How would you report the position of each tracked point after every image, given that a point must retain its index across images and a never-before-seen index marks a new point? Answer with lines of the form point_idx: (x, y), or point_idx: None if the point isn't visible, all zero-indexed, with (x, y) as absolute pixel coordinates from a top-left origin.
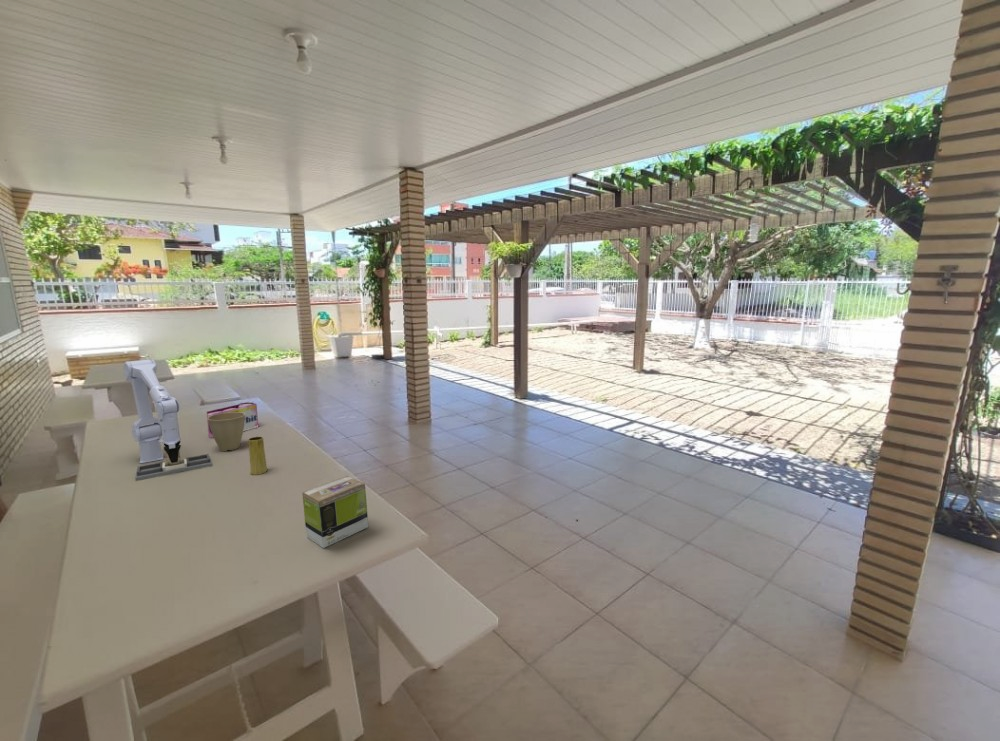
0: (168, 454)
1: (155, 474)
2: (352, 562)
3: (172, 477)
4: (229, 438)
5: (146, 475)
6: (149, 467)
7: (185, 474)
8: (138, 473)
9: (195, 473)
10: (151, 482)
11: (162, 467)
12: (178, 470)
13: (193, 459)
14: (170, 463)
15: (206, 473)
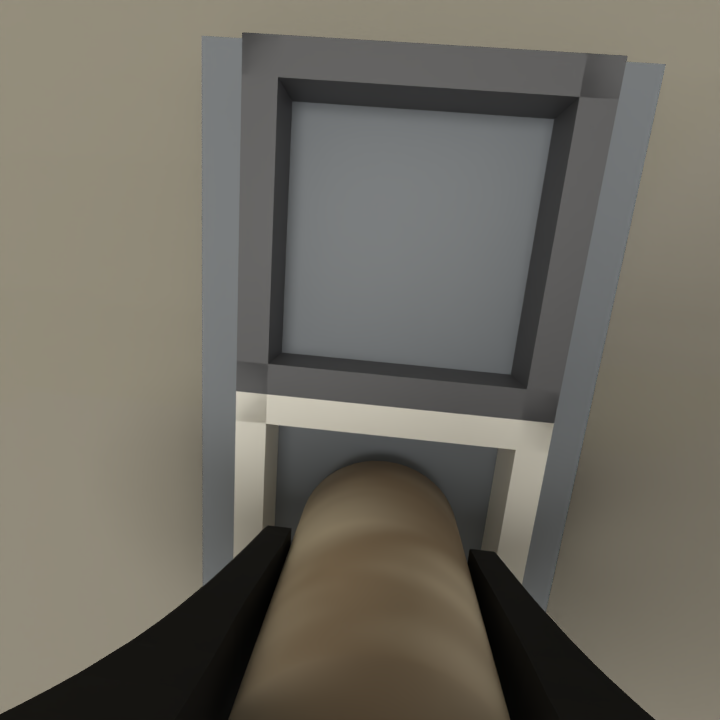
0: (131, 646)
1: (203, 289)
2: None
3: (83, 431)
4: None
5: (208, 184)
6: (539, 241)
7: (104, 541)
8: (250, 68)
9: (78, 613)
10: (38, 230)
11: (267, 394)
12: (209, 517)
13: None
14: (311, 507)
15: (19, 678)
